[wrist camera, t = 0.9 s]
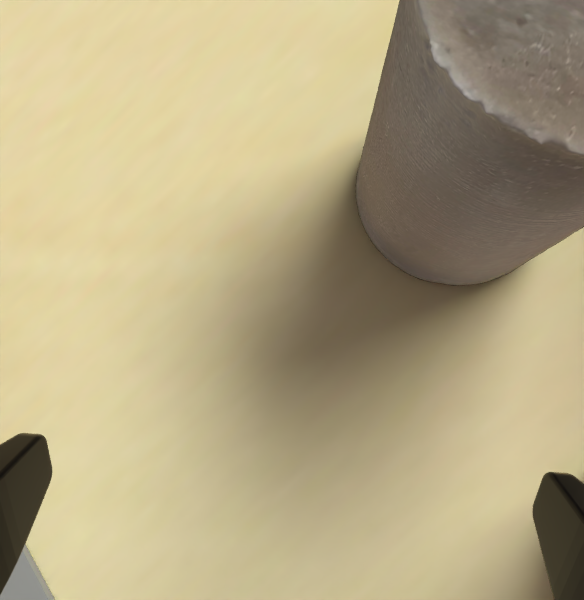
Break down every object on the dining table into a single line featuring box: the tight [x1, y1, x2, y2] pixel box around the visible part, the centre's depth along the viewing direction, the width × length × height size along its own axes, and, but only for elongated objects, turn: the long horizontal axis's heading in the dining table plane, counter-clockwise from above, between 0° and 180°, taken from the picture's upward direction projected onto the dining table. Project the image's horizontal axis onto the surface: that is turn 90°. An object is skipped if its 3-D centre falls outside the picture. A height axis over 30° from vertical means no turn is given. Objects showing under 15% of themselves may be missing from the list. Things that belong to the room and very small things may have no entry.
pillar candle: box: [356, 0, 584, 285], centre depth 18 cm, size 10×10×15 cm
